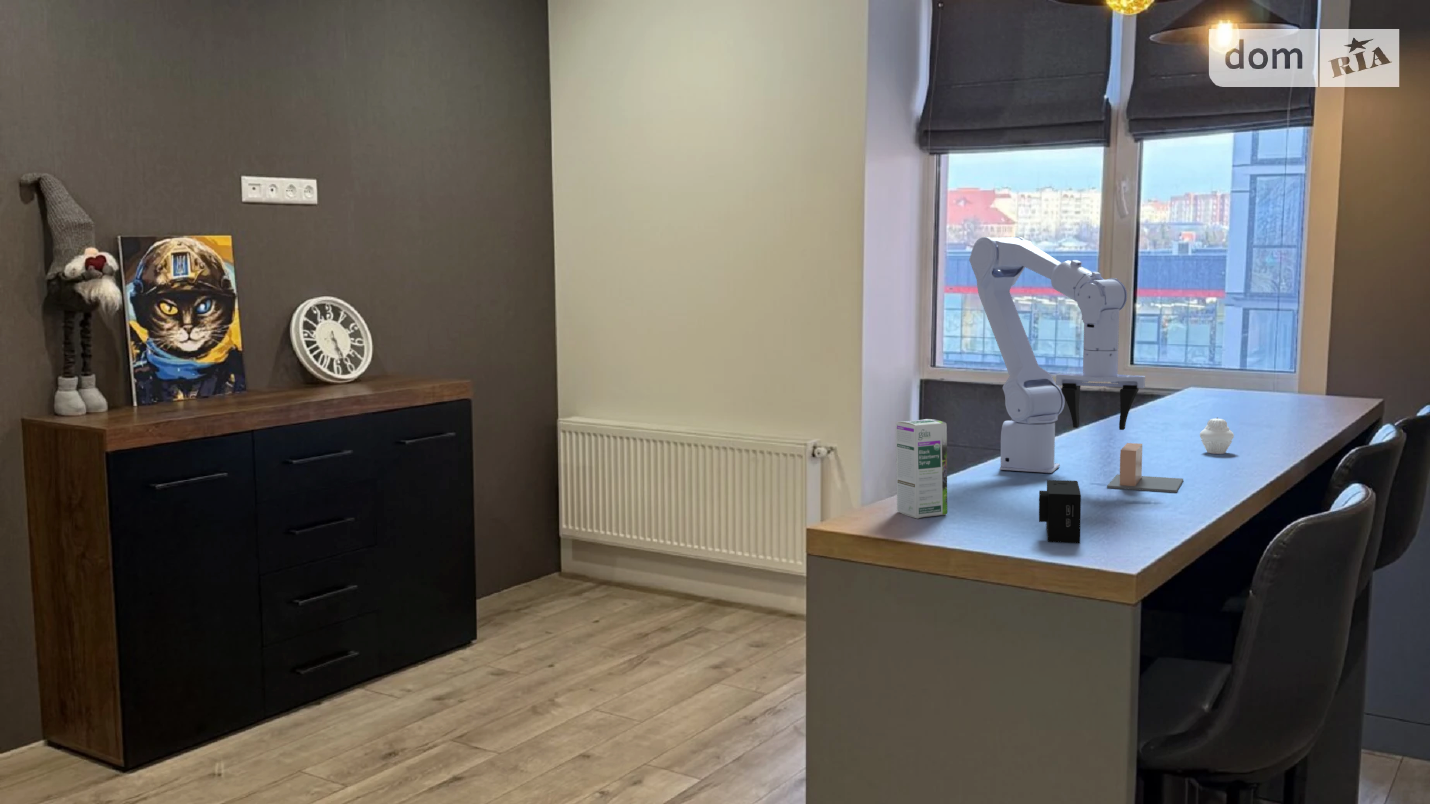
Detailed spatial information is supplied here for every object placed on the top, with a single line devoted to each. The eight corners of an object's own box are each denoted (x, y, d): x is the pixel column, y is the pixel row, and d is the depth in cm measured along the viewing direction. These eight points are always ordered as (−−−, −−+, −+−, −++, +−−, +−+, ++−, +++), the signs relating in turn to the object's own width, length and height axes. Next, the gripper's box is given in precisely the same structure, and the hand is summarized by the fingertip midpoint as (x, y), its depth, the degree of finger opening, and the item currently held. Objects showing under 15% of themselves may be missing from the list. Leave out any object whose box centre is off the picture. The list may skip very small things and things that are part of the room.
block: (1118, 485, 201) (1119, 450, 200) (1125, 476, 208) (1126, 443, 207) (1135, 486, 200) (1136, 450, 199) (1141, 477, 207) (1142, 443, 206)
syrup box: (916, 519, 180) (916, 424, 178) (895, 511, 185) (895, 420, 184) (948, 515, 182) (948, 421, 181) (926, 508, 188) (926, 417, 186)
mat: (1106, 488, 201) (1107, 485, 201) (1116, 476, 210) (1116, 474, 210) (1176, 492, 196) (1176, 490, 196) (1183, 480, 205) (1183, 478, 205)
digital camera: (1038, 525, 175) (1038, 478, 174) (1076, 526, 173) (1077, 479, 173) (1039, 542, 165) (1039, 492, 164) (1079, 543, 164) (1080, 493, 163)
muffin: (1238, 455, 230) (1239, 419, 229) (1206, 455, 230) (1207, 419, 229) (1225, 449, 236) (1226, 415, 235) (1194, 450, 236) (1195, 415, 235)
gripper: (1053, 350, 203) (1051, 429, 205) (1142, 352, 197) (1140, 433, 199) (1060, 347, 210) (1059, 423, 211) (1147, 349, 203) (1145, 427, 205)
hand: (1098, 428), depth 205 cm, fingers open, 7 cm apart
